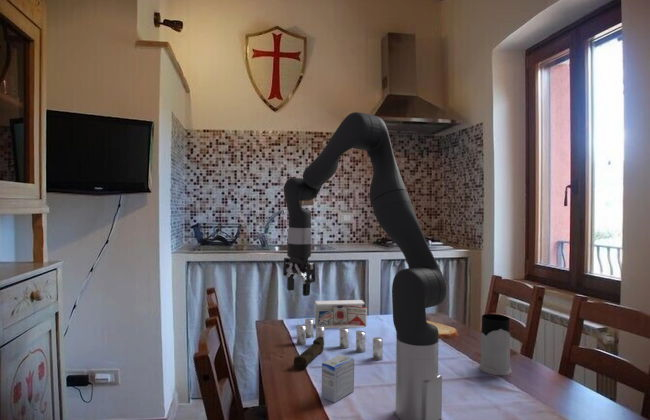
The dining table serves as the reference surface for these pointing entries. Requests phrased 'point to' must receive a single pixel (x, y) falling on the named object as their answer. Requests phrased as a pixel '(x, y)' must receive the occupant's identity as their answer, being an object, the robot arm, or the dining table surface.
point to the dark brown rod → (309, 354)
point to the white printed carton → (340, 314)
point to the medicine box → (337, 378)
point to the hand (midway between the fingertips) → (298, 292)
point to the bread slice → (445, 330)
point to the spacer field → (308, 332)
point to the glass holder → (495, 344)
